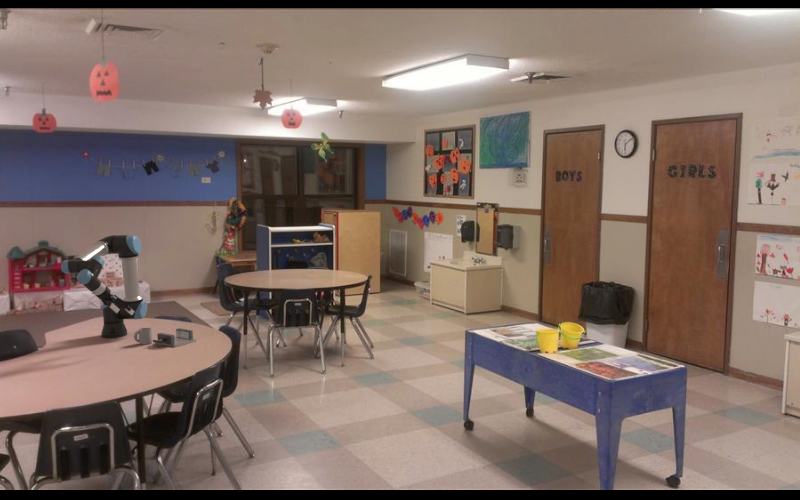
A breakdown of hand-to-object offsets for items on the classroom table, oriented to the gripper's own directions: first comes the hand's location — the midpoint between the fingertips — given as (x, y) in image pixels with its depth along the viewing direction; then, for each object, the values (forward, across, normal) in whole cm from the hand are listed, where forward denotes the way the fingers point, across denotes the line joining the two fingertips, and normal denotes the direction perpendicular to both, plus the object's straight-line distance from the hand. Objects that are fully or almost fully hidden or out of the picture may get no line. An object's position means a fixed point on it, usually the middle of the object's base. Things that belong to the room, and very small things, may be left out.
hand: (125, 312), depth 372 cm
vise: (+29, +15, -1) cm, 33 cm away
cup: (+23, 0, -7) cm, 24 cm away
